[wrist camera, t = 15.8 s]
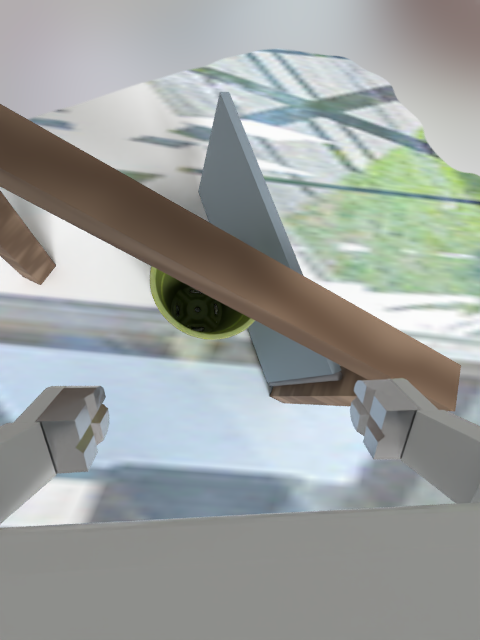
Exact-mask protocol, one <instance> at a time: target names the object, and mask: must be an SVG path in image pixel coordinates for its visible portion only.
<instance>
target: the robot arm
mask: <svg viewBox="0 0 480 640" xmlns="http://www.w3.org/2000/svg"><path fill="white" fill-rule="evenodd" d="M354 392H355V394H356V395H357V397H356V398H355V399H354V400H353V401H352V402H351V408H350V415H351V420H352V423H353V426H354V428H355V429H356V431H357V432H359V433H360V434H362V435H363V436H364V440H363V443H364V444H365V446H366V448H367V449H368V451H369V453H370V454H371V456H372V458H373V459H401V461H402V462H404V463H405V464H406V465H407V466H409V467H410V468H411V469H413V470H414V471H415V472H416V473H418V474H419V475H420V476H422V477H423V478H424V479H425V480H427V481H428V482H429V483H431V484H432V485H433V486H434V487H436V488H437V489H438V490H440V491H441V492H442V493H443V494H445V495H446V496H447V497H449V498H450V499H451V500H452V501H454V502H455V503H456V504H440V505H422V506H403V507H384V508H365V509H346V510H327V511H308V512H289V513H270V514H251V515H233V516H214V517H195V518H177V519H158V520H139V521H120V522H102V523H83V524H64V525H45V526H26V527H8V528H0V640H480V426H478V425H476V424H474V423H472V422H470V421H467V420H465V419H463V418H461V417H458V416H456V415H454V414H452V413H450V412H447V411H445V410H438V409H437V408H436V407H435V406H434V405H433V404H432V403H431V402H430V401H429V400H428V399H427V398H426V397H425V396H424V395H422V394H421V393H420V392H419V391H418V390H417V389H416V388H415V387H414V386H413V385H412V384H411V383H410V382H409V381H408V380H406V379H403V378H395V379H381V380H358V381H357V382H356V384H355V387H354ZM105 398H106V396H105V392H104V388H102V387H101V386H51V387H48V388H46V389H45V390H44V391H43V392H42V393H41V394H40V395H39V396H38V397H37V398H36V399H35V400H34V402H33V403H32V404H31V405H30V406H29V407H28V408H27V409H26V410H25V411H24V412H23V413H22V414H21V415H20V416H19V417H18V418H17V419H16V420H15V422H14V423H6V424H4V425H2V426H0V524H1V523H2V522H3V521H4V520H5V519H7V518H8V517H9V516H10V515H11V514H12V513H13V512H15V511H16V510H17V509H18V508H19V507H20V506H22V505H23V504H24V503H25V502H26V501H27V500H28V499H30V498H31V497H32V496H33V495H34V494H35V493H37V492H38V491H39V490H40V489H41V488H42V487H43V486H45V485H46V484H47V483H48V482H49V481H50V480H52V479H53V478H54V477H55V476H56V474H57V473H72V472H86V471H89V469H90V467H91V465H92V463H93V461H94V459H95V457H96V455H97V453H98V451H97V446H96V445H98V444H99V443H100V442H102V441H103V440H104V438H105V436H106V434H107V431H108V426H109V411H108V408H107V407H106V406H104V405H103V404H102V403H103V401H104V399H105Z"/></svg>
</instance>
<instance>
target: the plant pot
mask: <svg viewBox="0 0 480 640" xmlns="http://www.w3.org/2000/svg"><path fill="white" fill-rule="evenodd" d="M237 239H238V238H237ZM150 288H151V293H152V296H153V299H154V301H155V304H156V306H157V307H158V309H159V311H160V312H161V314H162V315H163V316H164V317H165V318H166V320H167V321H168V322H170V323H171V324H172V325H173V326H174V327H176V328H177V329H179V330H180V331H182V332H184V333H186V334H188V335H191V336H194V337H197V338H202V339H224V338H228V337H231V336H234V335H237V334H239V333H240V332H242V331H244V330H245V329H247V328H248V327H249V326H250V325H251V324H252V323H253V322H254V321H255V320H253V319H251V318H249V317H248V316H246V315H244V314H242V313H240V312H238V311H236V310H234V309H232V308H230V307H229V306H227V305H225V304H223V303H221V302H219V301H217V300H215V299H213V298H211V297H209V296H208V295H206V294H204V293H202V292H201V293H191V292H190V291H191V290H196V289H194V288H192V287H190V286H189V285H187V284H185V283H183V282H181V281H179V280H177V279H175V278H173V277H171V276H170V275H168V274H166V273H164V272H162V271H160V270H158V269H156V268H154V267H152V266H151V271H150ZM214 304H217V307H218V314H215V308H214ZM177 305H178V306H179V316H178V317H177V313H176V306H177ZM196 307H199V308H200V311H199V312H196V311H195V308H196ZM187 326H188V327H187ZM201 327H203V328H204V329H203V331H195V330H193V328H201Z"/></svg>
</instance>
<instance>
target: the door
mask: <svg viewBox="0 0 480 640" xmlns="http://www.w3.org/2000/svg"><path fill="white" fill-rule="evenodd" d="M198 192H199V195H200V197H201V200H202V203H203V206H204V209H205V211H206V214H207V217H208V220H209V222H210V223H211V224H213V225H214V226H216V227H218V228H220V229H221V230H223V231H225V232H227V233H229V234H230V235H232V236H234V237H236V238H238V239H239V240H241V241H243V242H244V243H246V244H248V245H250V246H251V247H253V248H255V249H257V250H258V251H260V252H262V253H264V254H266V255H267V256H269V257H271V258H273V259H274V260H276V261H278V262H280V263H281V264H283V265H285V266H287V267H288V268H290V269H292V270H294V271H295V272H297V273H299V274H301V275H303V274H302V271H301V269H300V266H299V264H298V261H297V259H296V256H295V254H294V252H293V249H292V247H291V244H290V242H289V239H288V237H287V234H286V232H285V229H284V227H283V224H282V222H281V219H280V217H279V214H278V212H277V210H276V207H275V205H274V202H273V200H272V197H271V195H270V192H269V190H268V187H267V185H266V182H265V180H264V177H263V175H262V172H261V170H260V168H259V165H258V163H257V160H256V158H255V155H254V153H253V150H252V148H251V145H250V143H249V140H248V138H247V135H246V133H245V130H244V128H243V126H242V123H241V121H240V118H239V116H238V113H237V111H236V108H235V106H234V103H233V101H232V98H231V96H230V93H229V92H220V94H219V99H218V103H217V108H216V113H215V117H214V122H213V126H212V131H211V136H210V140H209V145H208V149H207V154H206V159H205V163H204V168H203V172H202V177H201V182H200V186H199V191H198ZM248 330H249V333H250V336H251V339H252V342H253V344H254V347H255V350H256V353H257V355H258V358H259V361H260V364H261V366H262V369H263V372H264V375H265V378H266V380H267V382H269V386H282V385H293V384H304V383H316V382H327V381H338V380H341V379H342V373H341V372H340V371H341V368H340V365H339V364H337V363H335V362H333V361H331V360H329V359H327V358H326V357H324V356H322V355H320V354H318V353H316V352H314V351H312V350H310V349H308V348H307V347H305V346H303V345H301V344H299V343H297V342H295V341H293V340H291V339H289V338H287V337H286V336H284V335H282V334H280V333H278V332H276V331H274V330H272V329H270V328H268V327H267V326H265V325H263V324H261V323H259V322H257V321H254V322H253V323H252V324H251V325H250V326H249V327H248Z"/></svg>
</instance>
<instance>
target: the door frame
mask: <svg viewBox="0 0 480 640" xmlns="http://www.w3.org/2000/svg"><path fill="white" fill-rule="evenodd" d="M0 187H2V188H4V189H6V190H8V191H10V192H12V193H14V194H15V195H17V196H19V197H21V198H23V199H25V200H27V201H29V202H31V203H33V204H34V205H36V206H38V207H40V208H42V209H44V210H46V211H48V212H50V213H52V214H54V215H55V216H57V217H59V218H61V219H63V220H65V221H67V222H69V223H71V224H73V225H74V226H76V227H78V228H80V229H82V230H84V231H86V232H88V233H90V234H92V235H93V236H95V237H97V238H99V239H101V240H103V241H105V242H107V243H109V244H111V245H112V246H114V247H116V248H118V249H120V250H122V251H124V252H126V253H128V254H130V255H132V256H133V257H135V258H137V259H139V260H141V261H143V262H145V263H147V264H149V265H151V266H152V267H154V268H156V269H158V270H160V271H162V272H164V273H166V274H168V275H170V276H171V277H173V278H175V279H177V280H179V281H181V282H183V283H185V284H187V285H189V286H190V287H192V288H194V289H196V290H198V291H200V292H202V293H204V294H206V295H208V296H209V297H211V298H213V299H215V300H217V301H219V302H221V303H223V304H225V305H227V306H229V307H230V308H232V309H234V310H236V311H238V312H240V313H242V314H244V315H246V316H248V317H249V318H251V319H253V320H255V321H257V322H259V323H261V324H263V325H265V326H267V327H268V328H270V329H272V330H274V331H276V332H278V333H280V334H282V335H284V336H286V337H287V338H289V339H291V340H293V341H295V342H297V343H299V344H301V345H303V346H305V347H307V348H308V349H310V350H312V351H314V352H316V353H318V354H320V355H322V356H324V357H326V358H327V359H329V360H331V361H333V362H335V363H337V364H339V365H341V366H340V368H341V371H340V372H341V373H342V379H341V380H338V381H327V382H316V383H304V384H293V385H282V386H273V389H272V392H271V394H270V397H272V398H274V399H276V400H278V401H280V402H282V403H292V404H313V405H334V406H351V402H352V401H353V400H354V399H355V398H356V397H357V395H356V394H355V392H354V387H355V384H356V382H357V381H358V380H381V379H395V378H403V379H406V380H408V381H409V382H410V383H411V384H412V385H413V386H414V387H415V388H416V389H417V390H418V391H419V392H420V393H421V394H422V395H424V396H425V397H426V398H427V399H428V400H429V401H430V402H431V403H432V404H433V405H434V406H435V407H436V408H437V409H438V410H445V411H455V408H456V400H457V392H458V384H459V376H460V368H461V365H459V364H458V363H456V362H454V361H452V360H451V359H449V358H447V357H445V356H443V355H442V354H440V353H438V352H436V351H435V350H433V349H431V348H429V347H428V346H426V345H424V344H422V343H421V342H419V341H417V340H415V339H414V338H412V337H410V336H408V335H406V334H405V333H403V332H401V331H399V330H398V329H396V328H394V327H392V326H391V325H389V324H387V323H385V322H384V321H382V320H380V319H378V318H377V317H375V316H373V315H371V314H369V313H368V312H366V311H364V310H362V309H361V308H359V307H357V306H355V305H354V304H352V303H350V302H348V301H347V300H345V299H343V298H341V297H340V296H338V295H336V294H334V293H332V292H331V291H329V290H327V289H325V288H324V287H322V286H320V285H318V284H317V283H315V282H313V281H311V280H310V279H308V278H306V277H304V276H303V275H301V274H299V273H297V272H295V271H294V270H292V269H290V268H288V267H287V266H285V265H283V264H281V263H280V262H278V261H276V260H274V259H273V258H271V257H269V256H267V255H266V254H264V253H262V252H260V251H258V250H257V249H255V248H253V247H251V246H250V245H248V244H246V243H244V242H243V241H241V240H239V239H237V238H236V237H234V236H232V235H230V234H229V233H227V232H225V231H223V230H221V229H220V228H218V227H216V226H214V225H213V224H211V223H209V222H207V221H206V220H204V219H202V218H200V217H199V216H197V215H195V214H193V213H192V212H190V211H188V210H186V209H184V208H183V207H181V206H179V205H177V204H176V203H174V202H172V201H170V200H169V199H167V198H165V197H163V196H162V195H160V194H158V193H156V192H155V191H153V190H151V189H149V188H147V187H146V186H144V185H142V184H140V183H139V182H137V181H135V180H133V179H132V178H130V177H128V176H126V175H125V174H123V173H121V172H119V171H117V170H116V169H114V168H112V167H110V166H109V165H107V164H105V163H103V162H102V161H100V160H98V159H96V158H95V157H93V156H91V155H89V154H88V153H86V152H84V151H82V150H80V149H79V148H77V147H75V146H73V145H72V144H70V143H68V142H66V141H65V140H63V139H61V138H59V137H58V136H56V135H54V134H52V133H51V132H49V131H47V130H45V129H43V128H42V127H40V126H38V125H36V124H35V123H33V122H31V121H29V120H28V119H26V118H24V117H22V116H21V115H19V114H17V113H15V112H13V111H12V110H10V109H8V108H6V107H5V106H3V105H1V104H0ZM0 256H1V257H2V258H3V259H4V260H5V261H6V262H8V263H9V264H10V265H11V266H12V267H13V268H14V269H15V270H16V271H17V272H18V273H19V274H21V275H22V276H23V277H25V278H27V279H29V280H31V281H33V282H35V283H37V284H39V285H41V284H42V283H43V282H44V280H45V279H46V278H47V277H48V275H49V274H50V273H51V271H52V270H53V269H54V268H55V266H56V265H55V264H54V262H53V261H52V260H51V258H50V257H49V256H48V254H47V253H46V252H45V250H44V249H43V247H42V246H41V245H40V243H39V242H38V241H37V239H36V238H35V237H34V235H33V234H32V233H31V231H30V230H29V229H28V227H27V226H26V225H25V223H24V222H23V221H22V219H21V218H20V217H19V215H18V214H17V213H16V211H15V210H14V209H13V207H12V206H11V204H10V203H9V202H8V200H7V199H6V198H5V196H4V195H3V194H2V192H1V191H0Z"/></svg>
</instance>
